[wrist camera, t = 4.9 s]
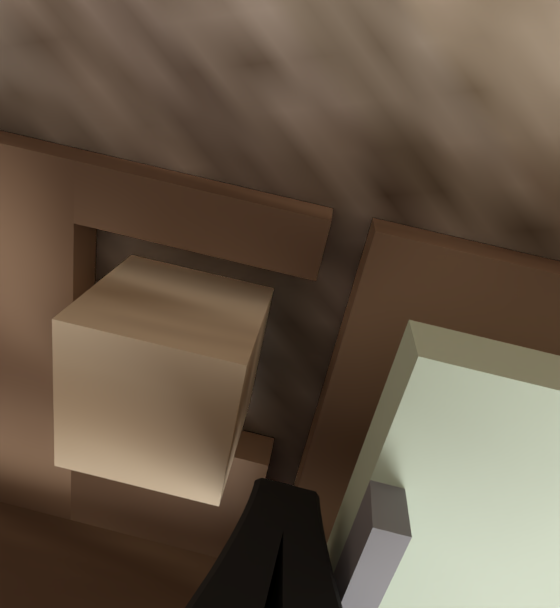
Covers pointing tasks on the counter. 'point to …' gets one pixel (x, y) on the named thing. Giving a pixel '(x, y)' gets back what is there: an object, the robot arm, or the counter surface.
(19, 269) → the board
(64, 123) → the counter surface
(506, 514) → the cover
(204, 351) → the block
